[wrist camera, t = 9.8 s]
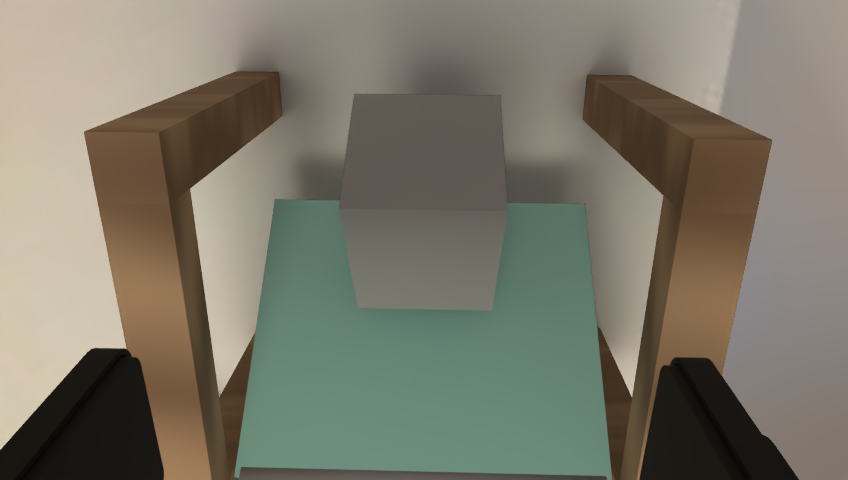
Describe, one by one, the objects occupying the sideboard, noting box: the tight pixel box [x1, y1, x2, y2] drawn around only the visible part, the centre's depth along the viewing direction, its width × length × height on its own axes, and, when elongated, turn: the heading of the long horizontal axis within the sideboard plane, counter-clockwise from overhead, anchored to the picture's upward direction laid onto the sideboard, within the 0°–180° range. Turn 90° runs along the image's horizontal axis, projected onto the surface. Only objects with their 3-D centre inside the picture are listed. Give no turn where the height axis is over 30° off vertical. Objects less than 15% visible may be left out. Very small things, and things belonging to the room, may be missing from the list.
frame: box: [84, 72, 772, 480], centre depth 25 cm, size 15×18×13 cm
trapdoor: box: [234, 199, 612, 480], centre depth 24 cm, size 12×13×1 cm
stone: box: [339, 94, 508, 311], centre depth 22 cm, size 5×5×6 cm
